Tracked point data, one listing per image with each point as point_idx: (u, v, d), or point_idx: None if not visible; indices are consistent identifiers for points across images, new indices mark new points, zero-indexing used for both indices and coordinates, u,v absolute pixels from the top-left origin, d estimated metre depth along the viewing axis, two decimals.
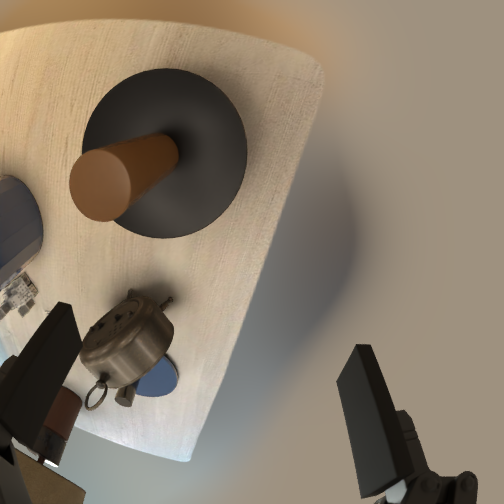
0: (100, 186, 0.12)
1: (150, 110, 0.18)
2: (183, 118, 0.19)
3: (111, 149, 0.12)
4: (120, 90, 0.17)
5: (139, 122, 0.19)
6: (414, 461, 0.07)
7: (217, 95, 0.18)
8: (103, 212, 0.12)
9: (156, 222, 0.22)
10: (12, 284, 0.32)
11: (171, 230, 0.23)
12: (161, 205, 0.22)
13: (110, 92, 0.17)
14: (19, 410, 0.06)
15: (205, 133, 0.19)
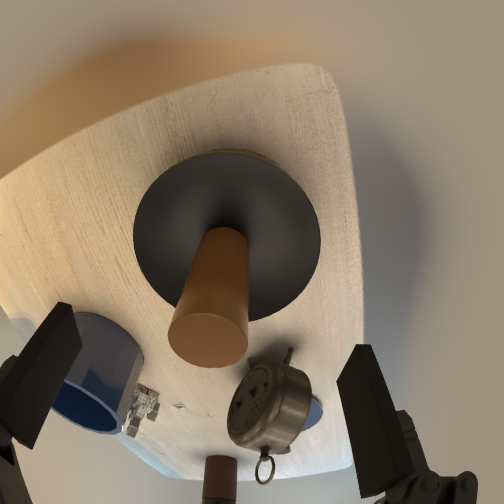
0: (209, 342, 0.12)
1: (192, 210, 0.19)
2: (231, 203, 0.19)
3: (199, 305, 0.12)
4: (148, 205, 0.19)
5: (188, 227, 0.19)
6: (414, 461, 0.07)
7: (252, 163, 0.17)
8: (224, 359, 0.13)
9: (255, 306, 0.23)
10: None
11: (273, 305, 0.23)
12: (253, 290, 0.22)
13: (139, 211, 0.19)
14: (19, 410, 0.06)
15: (261, 207, 0.19)
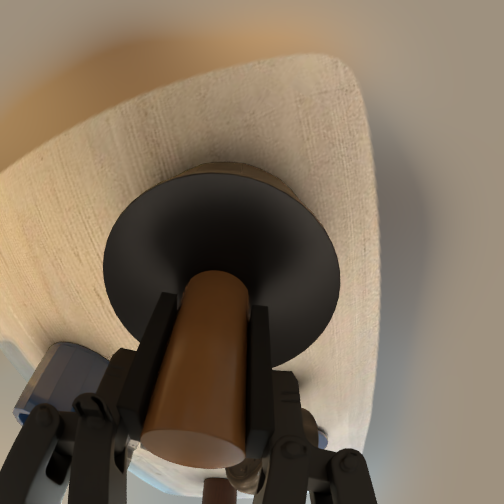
0: (194, 452, 0.08)
1: (174, 249, 0.14)
2: (224, 240, 0.14)
3: (177, 416, 0.07)
4: (118, 241, 0.14)
5: (169, 269, 0.15)
6: (287, 423, 0.09)
7: (253, 188, 0.13)
8: (216, 463, 0.08)
9: None
10: None
11: (278, 358, 0.18)
12: None
13: (107, 248, 0.14)
14: (147, 402, 0.09)
15: (265, 245, 0.14)
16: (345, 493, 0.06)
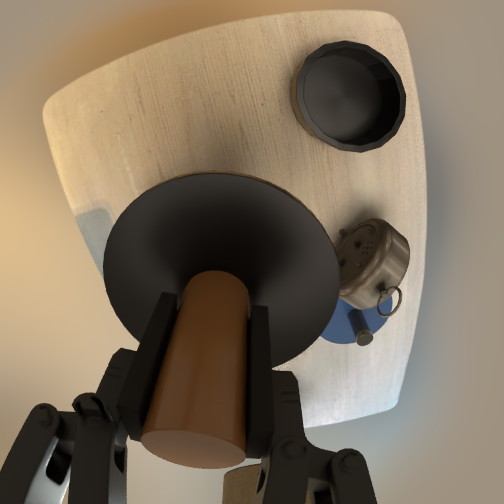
0: (195, 452, 0.08)
1: (174, 249, 0.14)
2: (224, 240, 0.14)
3: (178, 416, 0.07)
4: (118, 241, 0.14)
5: (170, 269, 0.15)
6: (287, 423, 0.09)
7: (253, 188, 0.13)
8: (216, 464, 0.08)
9: None
10: None
11: (278, 357, 0.18)
12: None
13: (108, 248, 0.14)
14: (147, 402, 0.09)
15: (265, 245, 0.14)
16: (345, 493, 0.06)
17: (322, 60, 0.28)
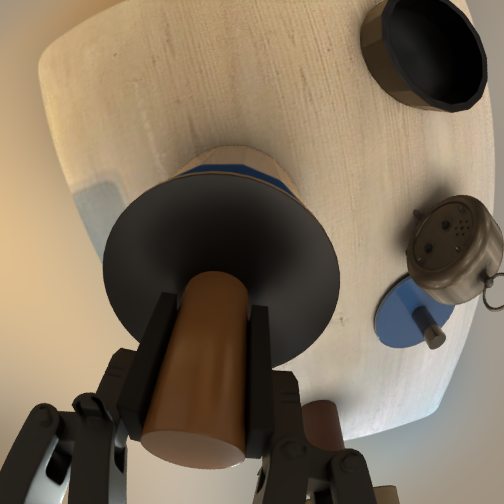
0: (195, 453, 0.08)
1: (173, 250, 0.14)
2: (224, 240, 0.14)
3: (177, 417, 0.07)
4: (118, 241, 0.14)
5: (169, 270, 0.15)
6: (287, 423, 0.09)
7: (252, 189, 0.13)
8: (216, 464, 0.08)
9: None
10: None
11: (278, 358, 0.18)
12: None
13: (107, 249, 0.14)
14: (147, 402, 0.09)
15: (265, 246, 0.14)
16: (345, 493, 0.06)
17: (392, 10, 0.18)
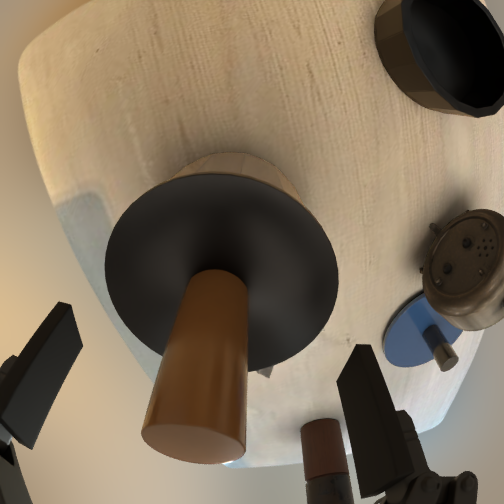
0: (195, 447, 0.08)
1: (175, 248, 0.15)
2: (224, 239, 0.14)
3: (178, 411, 0.07)
4: (120, 240, 0.14)
5: (170, 268, 0.15)
6: (414, 461, 0.07)
7: (252, 188, 0.13)
8: (216, 459, 0.08)
9: (256, 356, 0.18)
10: None
11: (277, 356, 0.18)
12: (253, 340, 0.17)
13: (109, 248, 0.15)
14: (19, 410, 0.06)
15: (264, 244, 0.14)
16: None
17: None
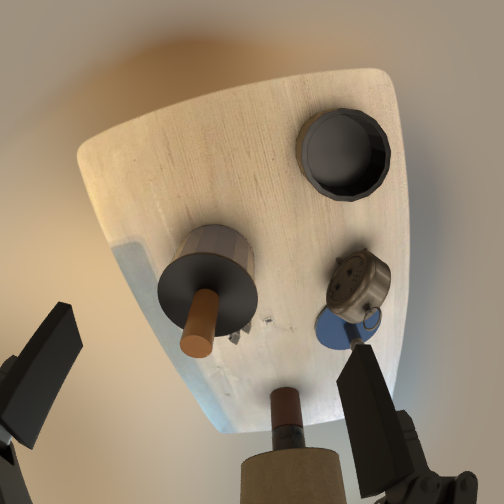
0: (196, 347, 0.30)
1: (189, 280, 0.37)
2: (208, 277, 0.36)
3: (192, 332, 0.29)
4: (165, 277, 0.36)
5: (187, 288, 0.37)
6: (414, 461, 0.07)
7: (218, 259, 0.35)
8: (203, 354, 0.30)
9: (225, 327, 0.40)
10: None
11: (235, 327, 0.40)
12: (223, 319, 0.39)
13: (160, 279, 0.37)
14: (19, 410, 0.06)
15: (224, 279, 0.36)
16: None
17: None
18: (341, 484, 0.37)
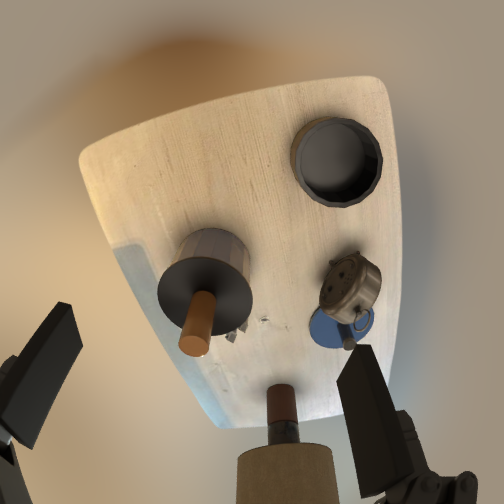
0: (194, 346, 0.32)
1: (187, 283, 0.39)
2: (206, 280, 0.38)
3: (190, 333, 0.31)
4: (165, 279, 0.38)
5: (185, 290, 0.39)
6: (414, 461, 0.07)
7: (214, 263, 0.37)
8: (200, 353, 0.32)
9: (221, 327, 0.42)
10: None
11: (231, 327, 0.42)
12: (219, 319, 0.41)
13: (160, 282, 0.38)
14: (19, 410, 0.06)
15: (220, 282, 0.38)
16: None
17: None
18: (333, 479, 0.40)
